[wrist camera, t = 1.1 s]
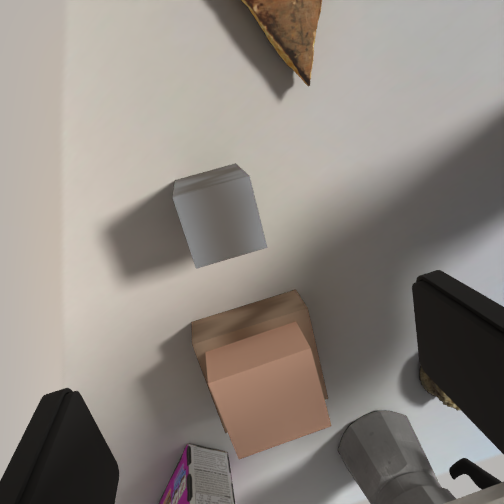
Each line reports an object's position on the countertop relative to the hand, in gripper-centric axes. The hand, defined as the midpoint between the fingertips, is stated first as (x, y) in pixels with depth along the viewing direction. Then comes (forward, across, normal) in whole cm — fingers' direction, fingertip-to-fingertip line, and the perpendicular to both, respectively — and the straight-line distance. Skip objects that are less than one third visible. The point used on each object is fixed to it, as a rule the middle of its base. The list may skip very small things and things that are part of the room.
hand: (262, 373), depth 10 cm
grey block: (+22, -1, 0) cm, 22 cm away
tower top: (+19, 0, +15) cm, 24 cm away
